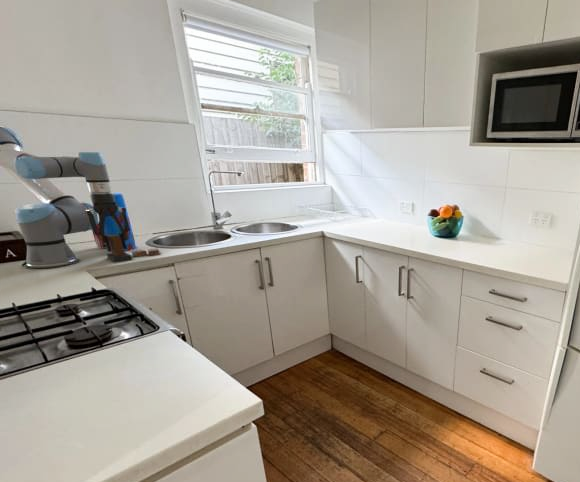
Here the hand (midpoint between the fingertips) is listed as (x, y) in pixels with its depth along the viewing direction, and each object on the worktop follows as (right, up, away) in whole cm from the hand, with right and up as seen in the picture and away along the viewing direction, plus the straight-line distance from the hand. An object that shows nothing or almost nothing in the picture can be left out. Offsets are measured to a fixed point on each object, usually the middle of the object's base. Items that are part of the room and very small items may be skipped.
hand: (117, 249), depth 163 cm
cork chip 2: (+9, -1, +11) cm, 14 cm away
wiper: (0, -4, +2) cm, 4 cm away
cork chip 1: (+4, -1, +8) cm, 9 cm away
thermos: (-11, +3, +18) cm, 22 cm away
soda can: (-21, +4, +20) cm, 29 cm away
